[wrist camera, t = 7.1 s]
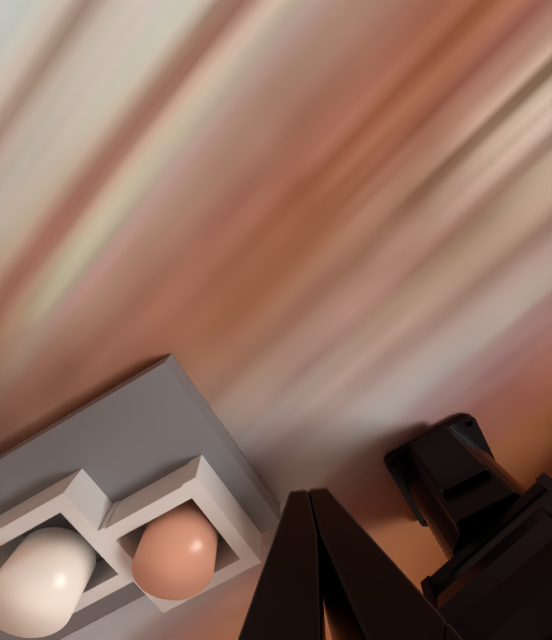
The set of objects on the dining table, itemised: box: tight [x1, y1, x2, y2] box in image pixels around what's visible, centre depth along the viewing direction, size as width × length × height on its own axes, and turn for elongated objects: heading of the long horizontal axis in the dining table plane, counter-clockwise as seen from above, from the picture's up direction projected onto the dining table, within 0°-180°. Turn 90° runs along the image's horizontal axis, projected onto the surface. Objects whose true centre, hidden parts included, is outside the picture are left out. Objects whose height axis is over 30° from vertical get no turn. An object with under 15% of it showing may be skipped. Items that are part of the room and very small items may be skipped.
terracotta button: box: [132, 499, 219, 600], centre depth 19 cm, size 4×4×3 cm
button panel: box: [0, 354, 281, 640], centre depth 21 cm, size 13×22×4 cm, turn 120°
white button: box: [0, 527, 96, 638], centre depth 18 cm, size 4×4×3 cm
